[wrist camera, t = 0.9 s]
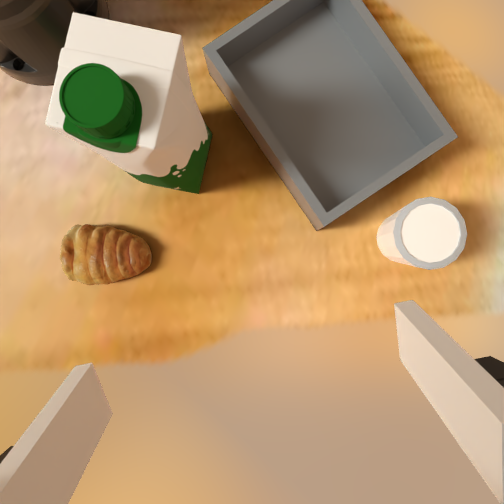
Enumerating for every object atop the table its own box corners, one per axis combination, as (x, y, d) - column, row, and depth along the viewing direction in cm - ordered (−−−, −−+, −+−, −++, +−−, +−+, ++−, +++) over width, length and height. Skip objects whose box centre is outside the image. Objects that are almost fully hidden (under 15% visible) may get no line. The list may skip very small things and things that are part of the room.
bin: (209, 73, 42) (202, 47, 37) (324, -5, 42) (333, -41, 37) (316, 230, 41) (324, 226, 36) (433, 152, 41) (458, 137, 36)
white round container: (442, 222, 41) (479, 214, 34) (417, 278, 41) (450, 281, 34) (385, 198, 41) (411, 184, 34) (361, 253, 41) (382, 251, 34)
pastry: (154, 226, 42) (143, 223, 38) (153, 285, 42) (142, 287, 38) (74, 225, 42) (55, 222, 38) (73, 283, 42) (54, 286, 38)
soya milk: (131, 187, 42) (11, 118, 22) (149, 111, 42) (46, -27, 22) (205, 203, 41) (152, 149, 21) (222, 127, 41) (187, 2, 22)
